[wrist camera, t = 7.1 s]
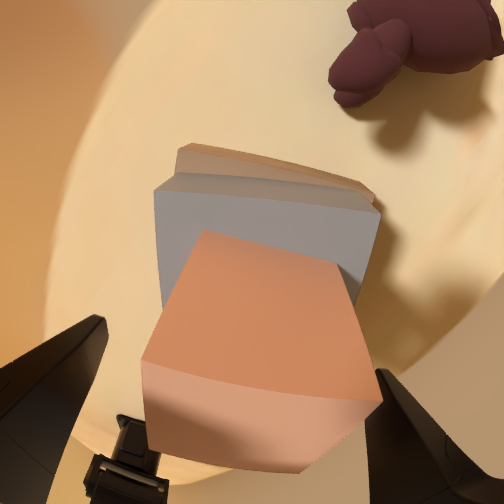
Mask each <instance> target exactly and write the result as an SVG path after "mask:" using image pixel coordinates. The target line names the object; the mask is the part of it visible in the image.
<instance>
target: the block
mask: <svg viewBox="0 0 504 504" xmlns="http://www.w3.org/2000/svg"><path fill="white" fill-rule="evenodd" d="M141 374H142V390H143V402H144V413H145V422H146V431H147V439H148V447H149V449H150V450H154V451H157V452H161V453H164V454H168V455H172V456H176V457H180V458H184V459H188V460H192V461H197V462H202V463H207V464H212V465H218V466H224V467H230V468H237V469H244V470H254V471H263V472H275V473H293V474H295V473H296V474H299V473H300V472H302V471H303V470H304V469H306V468H307V467H309V466H310V465H311V464H313V463H314V462H315V461H317V460H318V459H319V458H321V457H322V456H323V455H324V454H325V453H327V452H328V451H329V450H331V449H332V448H333V447H334V446H335V445H337V444H338V443H339V442H340V441H341V440H343V439H344V438H345V437H346V436H347V435H348V434H349V433H351V432H352V431H353V430H354V429H355V428H356V427H357V426H358V425H359V424H360V423H361V422H362V421H364V420H365V419H366V418H367V417H368V416H369V415H370V414H371V413H372V412H373V411H374V410H375V409H376V408H377V407H378V406H379V405H380V404H381V403H382V402H383V398H382V395H381V391H380V388H379V384H378V381H377V377H376V374H375V371H374V368H373V364H372V361H371V358H370V355H369V352H368V349H367V346H366V343H365V340H364V337H363V334H362V331H361V328H360V325H359V322H358V319H357V316H356V314H355V311H354V308H353V305H352V302H351V300H350V297H349V294H348V292H347V289H346V286H345V284H344V281H343V278H342V276H341V273H340V271H339V268H338V266H337V263H333V262H330V261H326V260H322V259H318V258H314V257H310V256H306V255H303V254H299V253H295V252H291V251H287V250H283V249H279V248H275V247H271V246H267V245H263V244H260V243H256V242H252V241H248V240H244V239H240V238H236V237H232V236H228V235H224V234H220V233H216V232H212V231H208V230H204V229H203V231H202V233H201V234H200V236H199V238H198V240H197V242H196V244H195V246H194V248H193V250H192V252H191V254H190V256H189V258H188V260H187V262H186V264H185V266H184V268H183V270H182V272H181V274H180V276H179V278H178V280H177V282H176V284H175V286H174V288H173V291H172V293H171V295H170V297H169V299H168V301H167V303H166V305H165V307H164V310H163V312H162V314H161V316H160V318H159V320H158V322H157V325H156V327H155V329H154V331H153V333H152V336H151V338H150V340H149V342H148V345H147V347H146V349H145V351H144V354H143V356H142V358H141Z"/></svg>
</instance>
